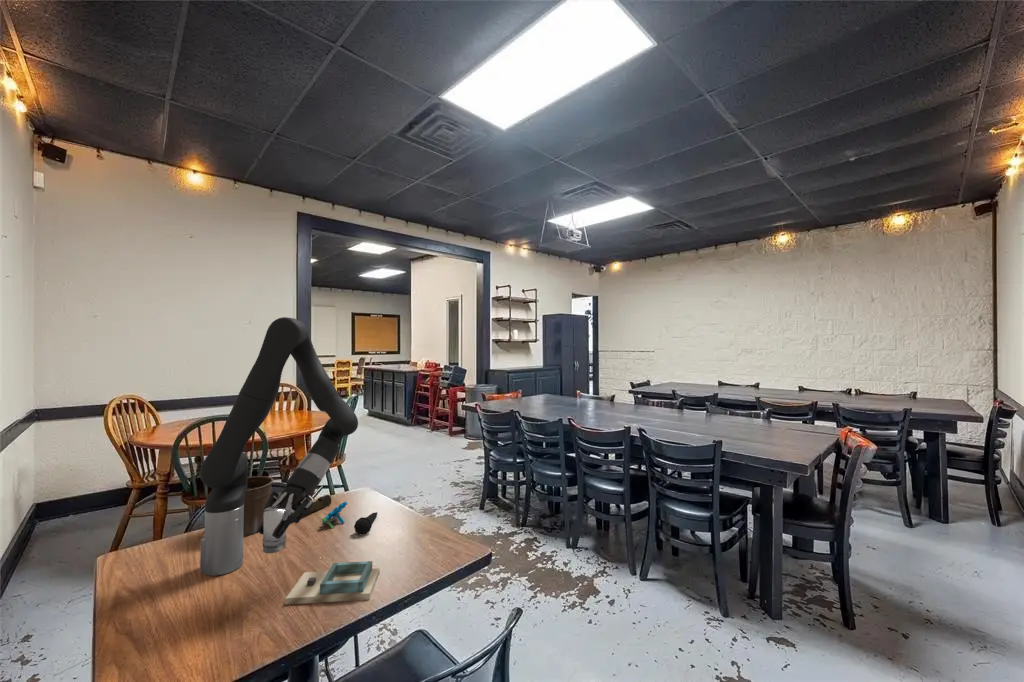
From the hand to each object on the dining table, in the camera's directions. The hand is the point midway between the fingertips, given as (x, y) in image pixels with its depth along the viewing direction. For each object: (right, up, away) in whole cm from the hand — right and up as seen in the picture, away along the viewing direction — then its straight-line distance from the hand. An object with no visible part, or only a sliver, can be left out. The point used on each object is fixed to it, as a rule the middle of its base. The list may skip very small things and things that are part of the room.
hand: (268, 534), depth 104 cm
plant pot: (-31, -17, +40) cm, 54 cm away
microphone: (+11, -18, +44) cm, 49 cm away
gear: (-3, -17, +46) cm, 49 cm away
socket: (+1, -4, +2) cm, 5 cm away
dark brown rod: (-16, -18, +56) cm, 61 cm away
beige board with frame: (+15, -16, +5) cm, 22 cm away
